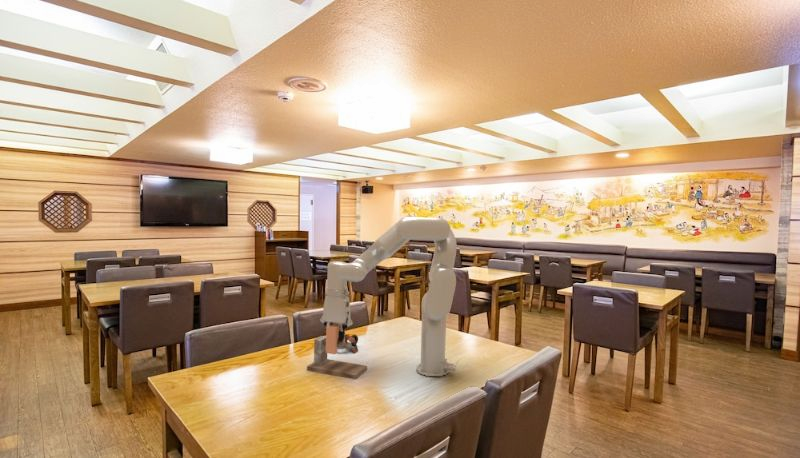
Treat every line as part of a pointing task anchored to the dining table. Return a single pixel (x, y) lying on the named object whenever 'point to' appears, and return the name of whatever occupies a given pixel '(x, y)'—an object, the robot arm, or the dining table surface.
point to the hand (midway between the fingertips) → (335, 339)
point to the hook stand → (333, 361)
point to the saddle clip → (332, 338)
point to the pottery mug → (352, 341)
